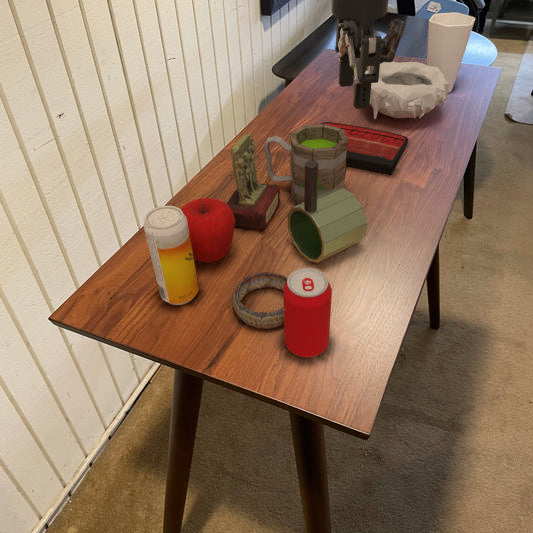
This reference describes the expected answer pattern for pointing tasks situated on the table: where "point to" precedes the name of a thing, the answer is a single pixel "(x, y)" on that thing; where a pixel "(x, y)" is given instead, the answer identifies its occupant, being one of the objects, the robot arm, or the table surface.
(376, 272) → the table surface
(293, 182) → the mug
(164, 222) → the beer can
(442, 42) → the cup
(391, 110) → the bowl
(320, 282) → the beverage can
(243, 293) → the decorative ring
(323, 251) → the pot
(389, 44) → the statue
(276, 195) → the sculpture
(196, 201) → the apple
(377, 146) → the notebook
